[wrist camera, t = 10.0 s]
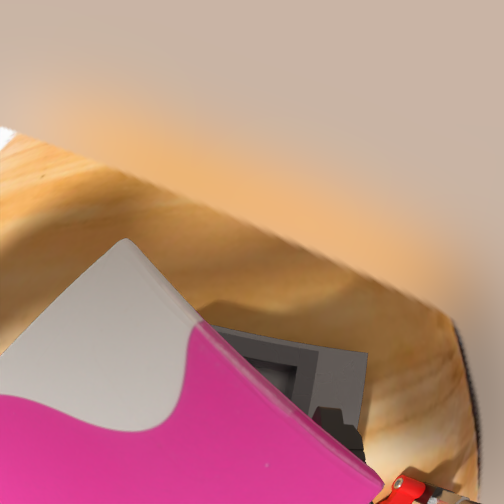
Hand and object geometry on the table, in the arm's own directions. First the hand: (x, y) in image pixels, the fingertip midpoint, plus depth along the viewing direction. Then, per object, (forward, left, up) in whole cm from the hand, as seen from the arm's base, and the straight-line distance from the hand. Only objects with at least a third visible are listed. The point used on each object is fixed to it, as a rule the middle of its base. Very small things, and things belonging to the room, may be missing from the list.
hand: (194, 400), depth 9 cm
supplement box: (0, -1, -5) cm, 6 cm away
